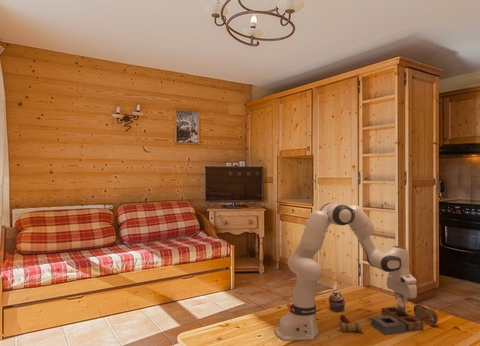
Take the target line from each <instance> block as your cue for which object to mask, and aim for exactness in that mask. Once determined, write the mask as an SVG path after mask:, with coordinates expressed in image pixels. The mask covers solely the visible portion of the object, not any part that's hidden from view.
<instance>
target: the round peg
mask: <svg viewBox="0 0 480 346" xmlns="http://www.w3.org/2000/svg"><path fill="white" fill-rule="evenodd" d="M402 299H404V297H403V295H402V294H400V293H397V299H396V300H397V301H396V307H397V314H398V315H401V316H405V315H406V314H405V312H406V303H405V304H404V303H403V302H402Z"/></svg>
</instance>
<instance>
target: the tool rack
mask: <svg viewBox="0 0 480 346" xmlns="http://www.w3.org/2000/svg"><path fill="white" fill-rule="evenodd" d="M405 314H406V315H405V316H401V315H398V314H397V306H388V307H381V316H387V315H391V316H393V317H394V318H396V319H398V320H399V321H401V322H403V323H404V324H406V332H408V333H409V332H417V331H423V330H424V322H422V321H420V320H418V319H417V318H416V316H414V315H413V316H412V315H411V314H409V313H408V312H407V311H405Z"/></svg>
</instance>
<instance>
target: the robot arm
mask: <svg viewBox="0 0 480 346" xmlns="http://www.w3.org/2000/svg"><path fill="white" fill-rule="evenodd" d="M332 224H333V225H338V226H346V225H348V226H349V229H350V230H351V231H352V232H353V234H354V235H355V236H356V238H357V241H358V242H359V244H360V246H361V247H362V249H363V251H364V253H365V255H366V256H365V257H366V260H367V263H368V264H369V266H371V267H373V268H377V269H379V270H381V271H383V272H386V273H387V277H386V288H387V289H389V290H392V291H393V294H394V296H395V300H397V293H400V294H402V295H403V297H404V299H402V302H403V303H404V304H405V305H406V304H407V302H408V299H410V300H411V299H412V300H413V299H416V298H417V296H418V290H417V289H418V288H417V282H418V281H417V278H415V277H414V276H413V275H412V274H411V273H410V269H409V267H410V255H409V250H408V249H407V248H406V247H403V246H399V245H393V246H392V247H391V249H389V250H387V251H386V252H385V251H382V250H380V249H378V248H377V247H376V246H375V244H374V242H373V240H372V238H371V236H372V235H374V233H375V227H374V224H373V222H372V221H371V219H370V218H369V216H368V215H367V214H366V212H365V211H364V210H363V209H362V208H361V207H360V206H359V205H358V204H351V205H349V206H348V205H345V204H340V203H335V202H328V203H325V204H324V205H323V206H322V207H321V208H320V209H317V210H313V211H312V212H311V213H310V215H309V217H308V219H307V222H306V224H305V227H304V229H303V233H302V235H301V238H300V241H299V243H298V245H297V246H296V249H294V252H292V254H290V255H289V257H288V259H287V265H288V268H289V269H290V271H291V272H292V273H294V274H295V275H296V283H295V286H294V287H293V289H292V291H293V292H292V294H293V297H292V300H293V302H292V304H291V303H287V304H286V307H287V308H288V309H289V311H288V312H286V313H285V314H284V315H283V316H281V318H280V319H279V322H278V326H276V327H275V326H274V333H276V334H277V335H276V334H275V335H276V336H277V337H278V338H279V339H280V340H282V341H310V340H311V341H313V340H314V339H315V338H316V337H317V336H318V335H319V329H318V325H317V324H318V323H317V317H316V315H317V306H316V288H317V287H316V286H317V282H318V280H319V279H320V278H321V277H322V268H321V266H320V265H319V263H318V262H317V261H315V260H314V257H315V256H316V254H317V253H318V252H319V251H320V250H321V249H322V247H323V244H324V240H325V237H326V234H327V230H328V229H329V227H330V226H331V225H332Z"/></svg>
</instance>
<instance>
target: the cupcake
mask: <svg viewBox="0 0 480 346" xmlns="http://www.w3.org/2000/svg"><path fill="white" fill-rule="evenodd" d="M344 298H345V297H344V296H343V294H342V292H336V291H333V292H332V293H331V294H330V295H329V298H328V303H329V309H330V310H331V311H332V312H336V313H342V312H344V311H345V306H346V301H345V300H344Z"/></svg>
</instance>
